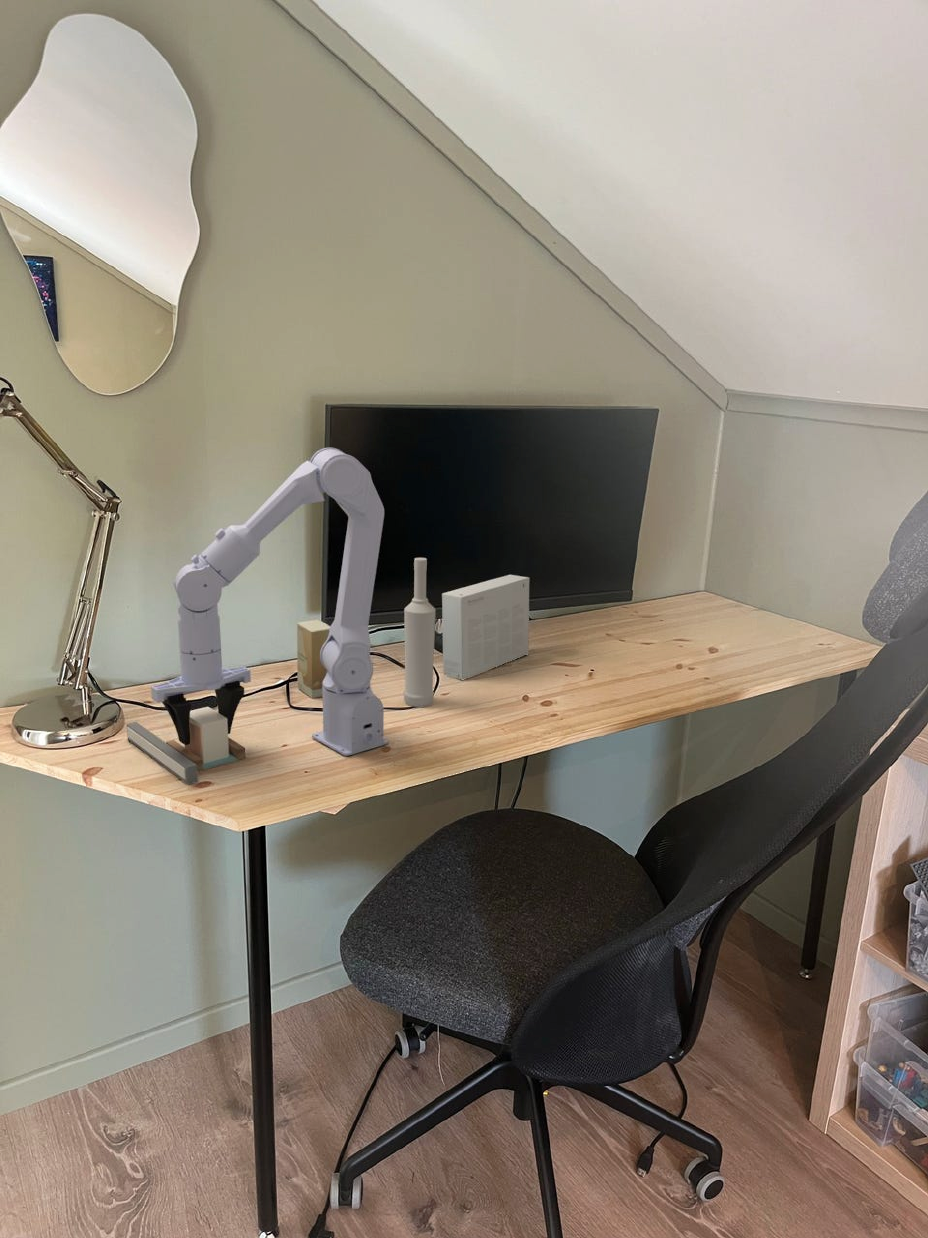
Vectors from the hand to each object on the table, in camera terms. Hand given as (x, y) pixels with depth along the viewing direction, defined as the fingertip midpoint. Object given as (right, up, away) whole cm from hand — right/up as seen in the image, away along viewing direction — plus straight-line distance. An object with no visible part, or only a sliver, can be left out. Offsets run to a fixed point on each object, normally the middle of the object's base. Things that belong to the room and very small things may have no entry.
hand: (205, 737), depth 141 cm
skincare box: (+12, +4, +28) cm, 31 cm away
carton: (0, -2, +1) cm, 3 cm away
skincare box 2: (+42, +8, +45) cm, 62 cm away
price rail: (-6, -3, -1) cm, 7 cm away
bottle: (+30, +3, +24) cm, 39 cm away
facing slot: (0, -3, +1) cm, 3 cm away
